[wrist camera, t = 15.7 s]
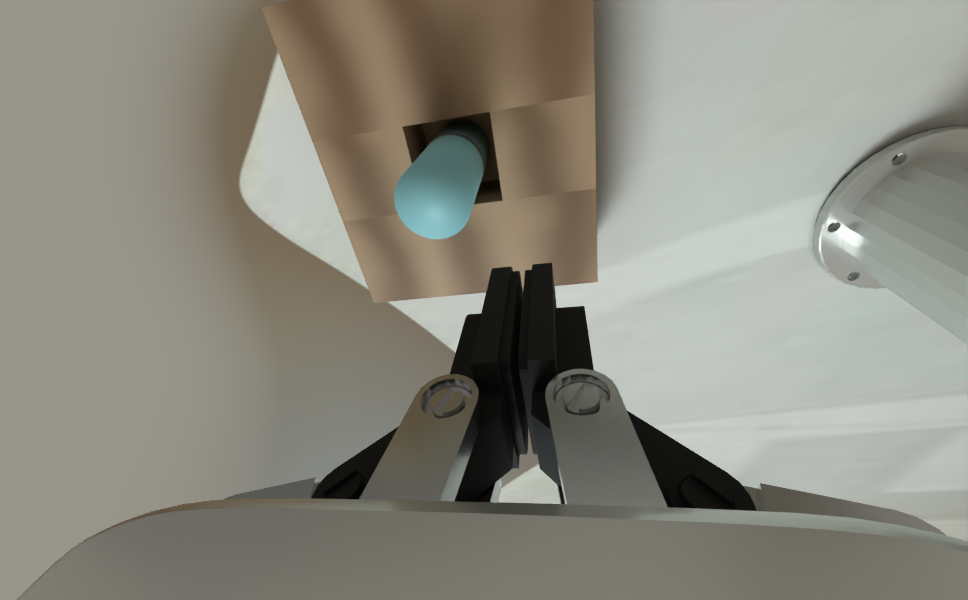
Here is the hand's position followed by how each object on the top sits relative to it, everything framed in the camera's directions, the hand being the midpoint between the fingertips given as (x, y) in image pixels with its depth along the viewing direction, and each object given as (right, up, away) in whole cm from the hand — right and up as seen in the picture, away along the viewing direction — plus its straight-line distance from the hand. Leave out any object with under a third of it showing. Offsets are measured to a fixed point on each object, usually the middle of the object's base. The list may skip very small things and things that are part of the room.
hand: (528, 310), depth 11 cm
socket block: (-3, +13, +20) cm, 23 cm away
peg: (-3, +12, +19) cm, 22 cm away
